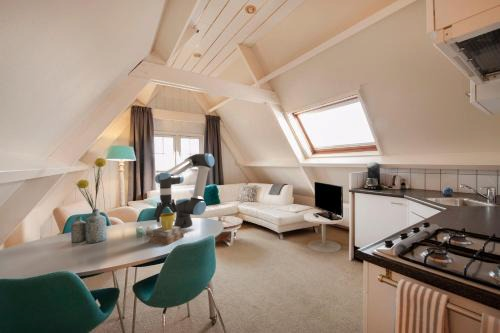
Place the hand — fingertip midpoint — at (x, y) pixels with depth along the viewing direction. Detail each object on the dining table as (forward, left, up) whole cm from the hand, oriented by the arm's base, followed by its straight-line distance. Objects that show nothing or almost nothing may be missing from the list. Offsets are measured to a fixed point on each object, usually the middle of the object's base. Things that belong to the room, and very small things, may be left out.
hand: (166, 224), depth 157 cm
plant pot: (0, 0, -3) cm, 3 cm away
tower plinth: (0, 0, -11) cm, 11 cm away
